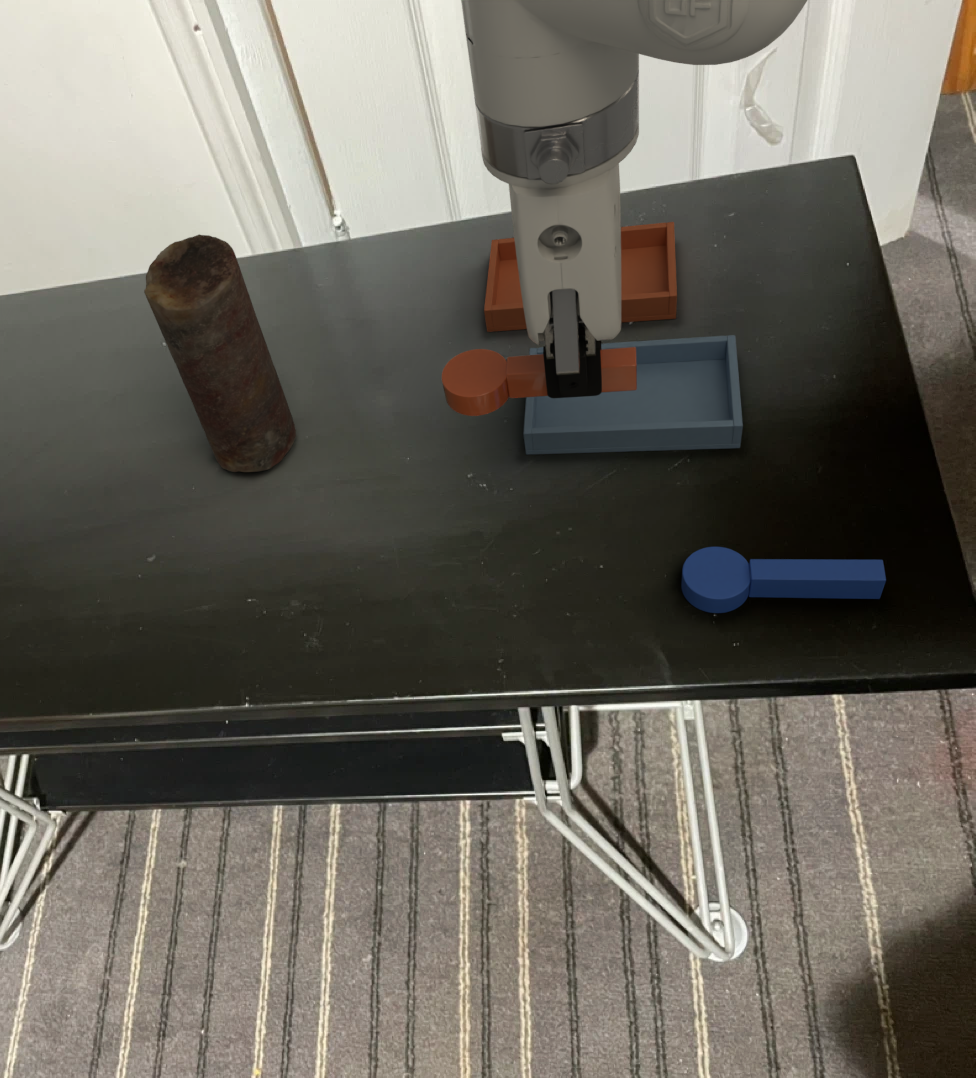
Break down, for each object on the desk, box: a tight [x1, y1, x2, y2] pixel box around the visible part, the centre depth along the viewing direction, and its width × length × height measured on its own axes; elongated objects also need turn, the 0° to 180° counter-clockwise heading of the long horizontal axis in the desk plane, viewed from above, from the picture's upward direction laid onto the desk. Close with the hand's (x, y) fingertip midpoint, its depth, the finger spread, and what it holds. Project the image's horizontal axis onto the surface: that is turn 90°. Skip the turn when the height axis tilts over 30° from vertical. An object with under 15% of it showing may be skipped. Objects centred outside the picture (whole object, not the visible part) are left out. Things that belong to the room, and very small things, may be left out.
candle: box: [143, 233, 297, 473], centre depth 82 cm, size 8×7×20 cm
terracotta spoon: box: [441, 347, 637, 417], centre depth 65 cm, size 12×4×2 cm, turn 79°
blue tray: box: [523, 334, 744, 456], centre depth 80 cm, size 15×9×2 cm, turn 78°
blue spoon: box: [680, 546, 887, 614], centre depth 68 cm, size 12×4×2 cm, turn 78°
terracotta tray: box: [483, 221, 678, 333], centre depth 89 cm, size 15×9×2 cm, turn 78°
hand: (574, 378), depth 64 cm, fingers closed on terracotta spoon, 1 cm apart
